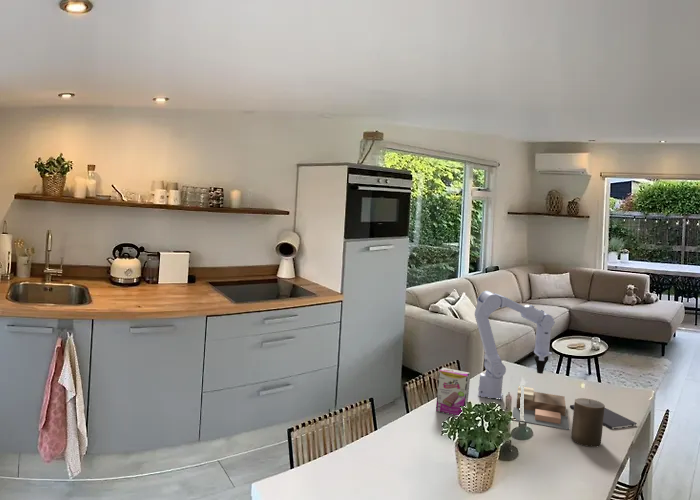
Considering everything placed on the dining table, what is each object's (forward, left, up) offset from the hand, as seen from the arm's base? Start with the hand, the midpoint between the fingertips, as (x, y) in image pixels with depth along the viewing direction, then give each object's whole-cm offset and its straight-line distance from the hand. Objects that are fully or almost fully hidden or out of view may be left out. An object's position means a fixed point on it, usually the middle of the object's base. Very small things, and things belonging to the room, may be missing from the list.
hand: (539, 373), depth 229 cm
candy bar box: (-31, -35, -11) cm, 48 cm away
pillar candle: (+16, -38, -11) cm, 43 cm away
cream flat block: (-5, -13, -6) cm, 15 cm away
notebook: (+24, -11, -11) cm, 29 cm away
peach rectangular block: (+4, -24, -8) cm, 26 cm away
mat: (+1, -25, -10) cm, 27 cm away
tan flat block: (+1, -12, -10) cm, 16 cm away
